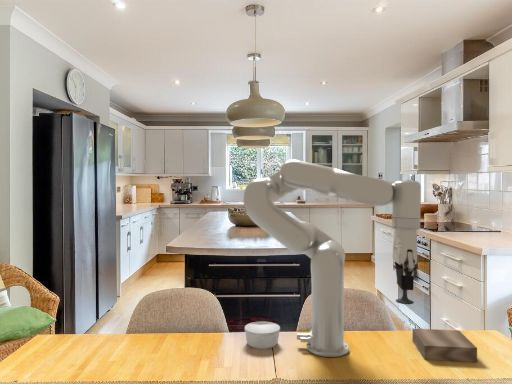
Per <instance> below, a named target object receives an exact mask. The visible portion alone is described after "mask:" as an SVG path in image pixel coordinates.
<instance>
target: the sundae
mask: <svg viewBox="0 0 512 384" xmlns="http://www.w3.org/2000/svg"><path fill="white" fill-rule="evenodd" d="M404 264H408V262H404ZM392 266H393V268H394V269H395V273H396V274H395V275H396V283H397V282H398V284H397V285H398V287H399V288H400V289H401V275H403V274H402V270H403V269H402V263H401V265H399V264H398V263H396V262H395V261H394V265H392ZM405 268H406V267H405ZM418 268H419V267H418V266H417V265H416V264H415V265H414V268H413V272H414V275H415V274H416V271H417V269H418ZM395 302H396V303H397V304H400V305H401V304H402V305H413V304H414V303H415V302H414V301H413V300H412V299H409V298H408V290H402V295H401V298H397V299H395Z"/></svg>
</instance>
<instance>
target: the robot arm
mask: <svg viewBox="0 0 512 384" xmlns="http://www.w3.org/2000/svg"><path fill="white" fill-rule="evenodd" d="M297 190H303V191H307V192H311V193H315V194H320V195H324V196H329V197H332V198H340V199H344V200H348V201H353V202H357V203H361V204H366V205H369V206H374V207H383V206H386V205H392V213H391V214H392V216H391V217H392V218H391V220H392V221H391V224H392V225H391V229H392V230H393V229H394V231H393V241H392V242H393V243H392V245H393V246H392V260H393V261H394V262H396V263H398V264H399V265H401V263H402V269H403V270H402V274H403V275H401V288H400V289H401V290H402V291H403V290H407V291H414V280H415V274H414V272H413V268H414V265H415V266H416V265H417V262H418V233H417V231H419V230H421V206H422V205H421V204H422V203H421V200H422V199H421V198H422V197H421V194H422V187H421V183H420V182H419V181H416V180H397V181H389V180H384V179H381V178H375V177H371V176H367V175H366V176H365V175H362V174H357V173H353V172H348V171H345V170H342V169H339V168H336V167H331V166H326V165H322V164H317V163H313V162H308V161H304V160H299V159H288V160H286V161H284V162H283V164H281V166H280V169H279V170H278V171H277V172H274V173H273V174H271V175H269V176H268V177H265V178H262V177H260V178H259V177H258V178H255V179H252V180H251V181H249V183H248V184H247V185H246V187H245V189H244V192H243V207H244V209H245V212H246V214H247V216H248V217H249V219H250V220H251V221H252V223H254V225H256V226H258V227H259V228H260V229H261V230H262V231H265V232H266V233H267V234H268V235H269V236H270V237H272V238H273V239H274V240H275V241H276V242H278V243H280V244H281V245H282V246H284V248H286V249H287V250H288V251H290V252H291V253H292V254H295V255H296V254H297V255H302V254H304V255H305V256H307V257H308V258H309V259H310V276H311V277H310V279H311V280H310V281H311V329H310V332H307V333H298V332H297V333H296V340H297V341H300V343H306V350H307V351H308V352H310V353H311V354H313V355H316V356H319V357H326V358H328V357H329V358H336V357H337V358H338V357H342V356H344V355H346V354H348V353H349V352H350V347H349V345H348V343H346V342H345V340H344V339H345V338H344V336H345V335H344V330H345V329H344V328H345V327H344V325H345V324H344V323H345V318H344V316H345V314H344V313H345V312H344V310H345V308H344V307H345V305H344V304H345V303H344V301H345V296H344V295H345V294H344V292H345V290H344V289H345V287H344V285H345V283H344V282H345V281H344V278H345V277H344V274H345V273H344V272H345V270H344V267H345V261H346V253H345V249H344V248H343V246H342V245H341V244H340V243H339V242H338V241H336V240H335V239H334V238H332V237H331V236H329V235H328V234H327V233H325V232H323V231H322V230H321V229H320V228H318V227H317V226H315V225H314V224H313V223H310V222H308V221H304V220H301V221H298V220H296V218H294V217H292V216H291V215H289V214H288V213H286V212H285V211H284V210H283V209H281V208H280V207H278V206H276V205H275V204H274V203H276V202H277V201H280V200H281V199H283V198H284V197H286V196H288V195H290V194H292V193H293V192H295V191H297ZM404 262H408V264H404ZM405 267H406V268H405ZM396 284H397V285H398V282H397V281H396Z"/></svg>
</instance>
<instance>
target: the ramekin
mask: <svg viewBox="0 0 512 384" xmlns="http://www.w3.org/2000/svg"><path fill="white" fill-rule="evenodd" d="M244 332H245V333H244V334H245V338H246V344H247V345H248V346H249V347H250V348H254V349H259V350H266V349H268V350H269V349H271V348H274V347H276V346H277V344H278V342H279V337H280V332H281V326H280V325H279V324H277V323H274V322H270V321H255V322H250V323H247V324H246V325H245V326H244Z"/></svg>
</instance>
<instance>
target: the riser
mask: <svg viewBox="0 0 512 384" xmlns="http://www.w3.org/2000/svg"><path fill="white" fill-rule="evenodd" d="M411 341H412V343H413V344H414V345H415V347H416V349H417V350H418V352H419V353H420V355H421V356H422V358H423V359H424V360H427V361H429V360H430V361H448V362H466V363H467V362H468V363H478V347H477V346H476V345H474V344H473V343H472V342H471V341H470V340H469V339H468V338H467V337H466V336H465V335H464V334H463V332H461V330H454V329H434V328H433V329H432V328H412V340H411Z"/></svg>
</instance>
